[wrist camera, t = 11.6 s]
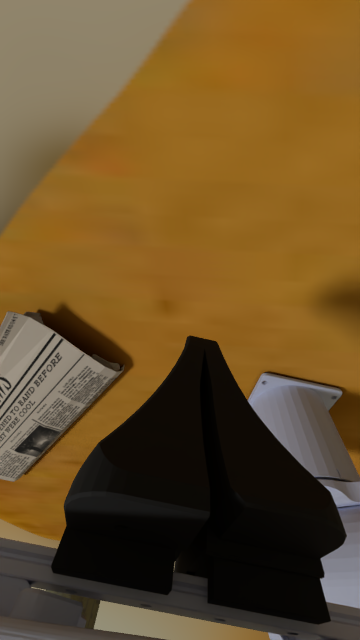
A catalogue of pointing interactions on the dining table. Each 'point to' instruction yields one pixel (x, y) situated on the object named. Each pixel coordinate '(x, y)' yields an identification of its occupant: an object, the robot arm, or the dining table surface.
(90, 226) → the dining table surface
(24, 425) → the newspaper
